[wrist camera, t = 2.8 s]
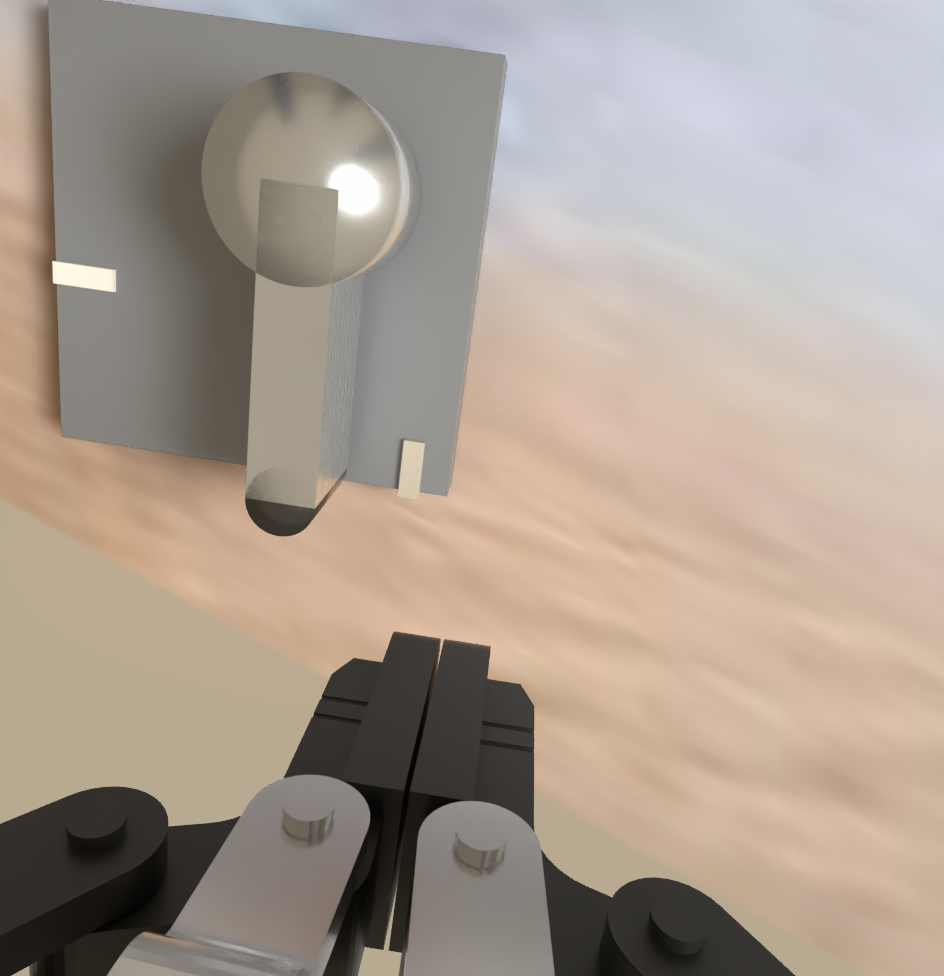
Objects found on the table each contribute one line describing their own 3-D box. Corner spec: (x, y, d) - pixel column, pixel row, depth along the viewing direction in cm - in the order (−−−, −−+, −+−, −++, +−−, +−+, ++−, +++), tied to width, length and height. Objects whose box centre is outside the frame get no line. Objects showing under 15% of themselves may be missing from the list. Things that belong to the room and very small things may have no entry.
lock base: (75, 6, 25) (43, -9, 23) (507, 65, 24) (504, 53, 23) (84, 431, 29) (58, 443, 28) (450, 488, 29) (445, 503, 27)
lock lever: (259, 86, 23) (204, 58, 19) (431, 109, 23) (409, 86, 19) (241, 480, 27) (192, 522, 23) (389, 503, 27) (364, 549, 23)
